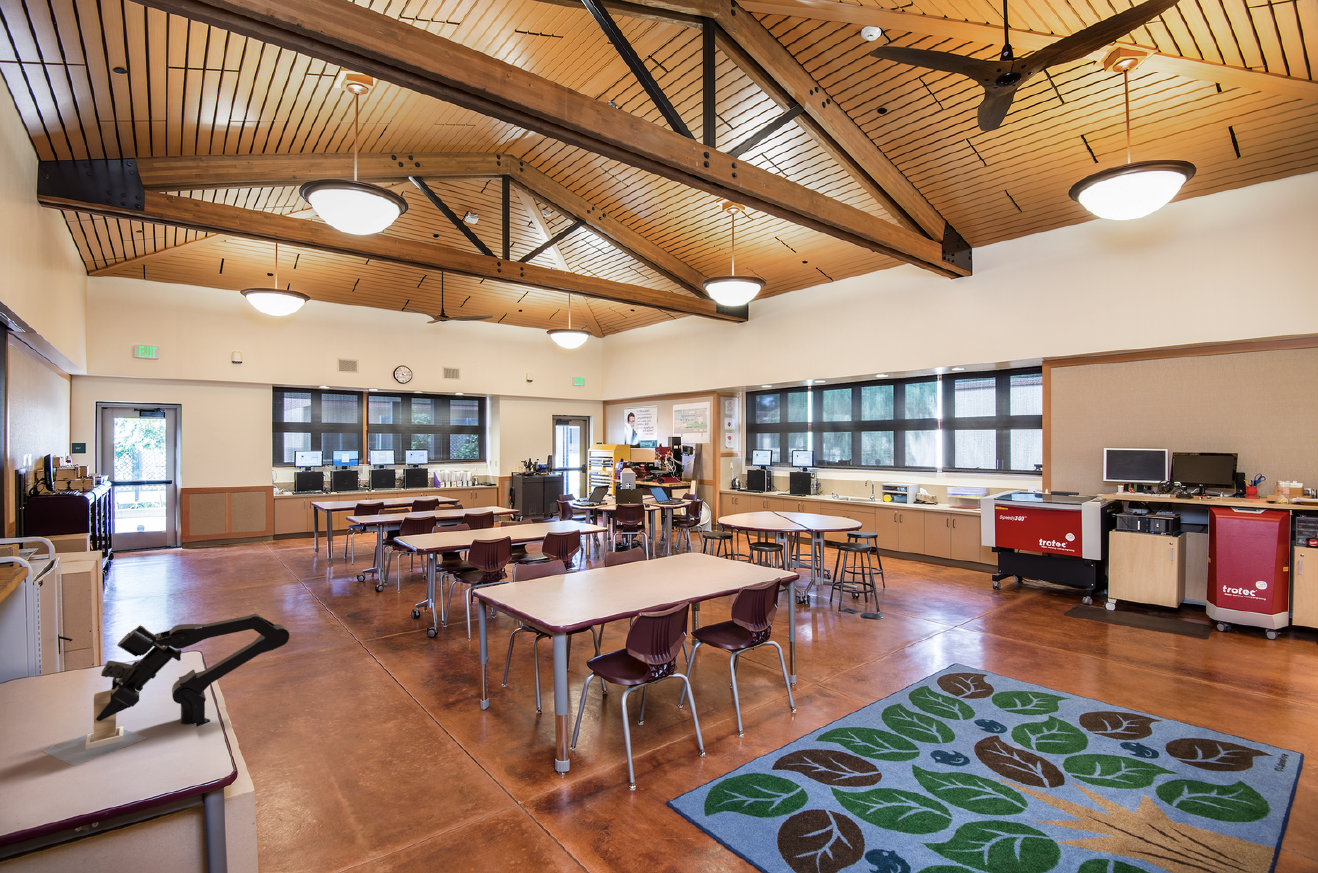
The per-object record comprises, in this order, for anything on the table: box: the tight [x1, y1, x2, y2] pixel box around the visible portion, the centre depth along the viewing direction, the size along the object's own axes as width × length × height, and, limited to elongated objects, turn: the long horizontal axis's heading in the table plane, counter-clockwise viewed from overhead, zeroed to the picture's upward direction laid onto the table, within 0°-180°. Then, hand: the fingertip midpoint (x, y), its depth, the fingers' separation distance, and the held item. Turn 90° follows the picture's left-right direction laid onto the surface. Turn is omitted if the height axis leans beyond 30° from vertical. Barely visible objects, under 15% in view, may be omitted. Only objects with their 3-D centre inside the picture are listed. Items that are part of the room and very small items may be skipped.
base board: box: [40, 725, 148, 767], centre depth 169 cm, size 18×16×1 cm
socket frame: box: [85, 725, 125, 750], centre depth 171 cm, size 8×8×2 cm
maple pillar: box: [93, 689, 117, 741], centre depth 171 cm, size 4×4×13 cm
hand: (98, 714), depth 170 cm, fingers open, 9 cm apart
